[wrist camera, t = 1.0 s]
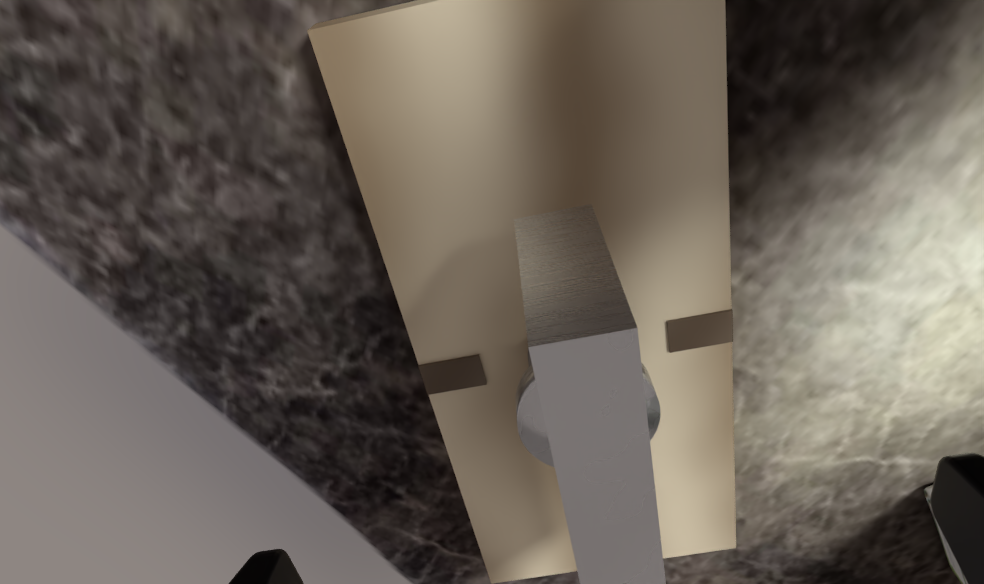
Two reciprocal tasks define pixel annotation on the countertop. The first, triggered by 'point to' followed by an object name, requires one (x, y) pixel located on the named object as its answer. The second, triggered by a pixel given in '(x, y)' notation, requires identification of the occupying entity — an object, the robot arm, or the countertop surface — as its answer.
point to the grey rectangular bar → (589, 397)
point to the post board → (542, 189)
